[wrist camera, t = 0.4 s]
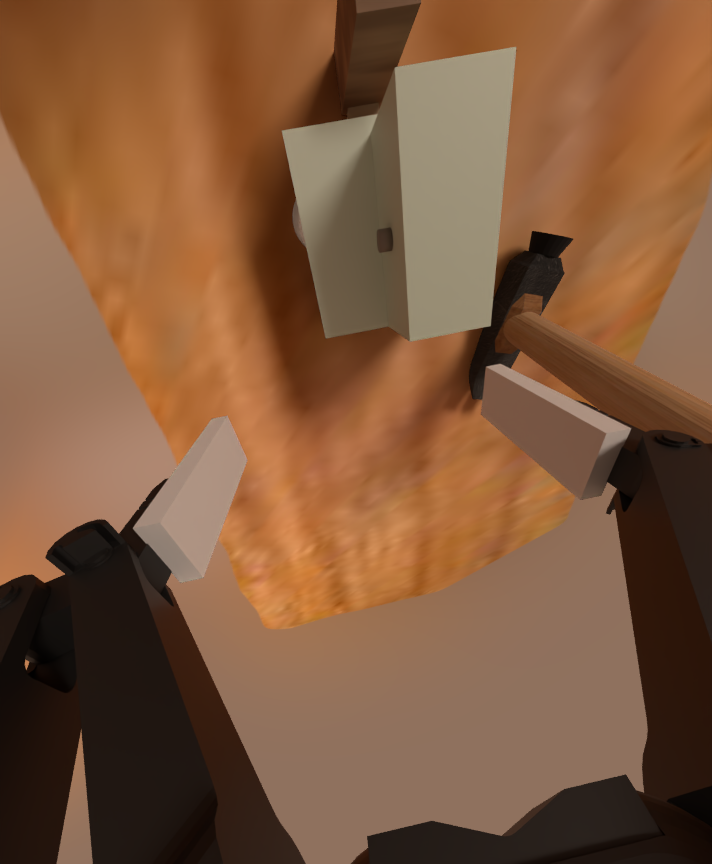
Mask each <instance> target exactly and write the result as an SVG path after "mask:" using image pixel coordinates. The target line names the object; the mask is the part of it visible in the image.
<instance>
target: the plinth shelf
mask: <svg viewBox="0 0 712 864" xmlns="http://www.w3.org/2000/svg"><path fill="white" fill-rule="evenodd" d="M515 56H516V47H512V48H506V49H501V50H495V51H489V52H483V53H477V54H471V55H465V56H459V57H453V58H447V59H441V60H435V61H430V62H424V63H418V64H412V65H406V66H400V67H395V68H394V71H393V74H392V76H391V79H390V82H389V84H388V87H387V90H386V93H385V95H384V98H383V101H382V104H381V106H380V109H379V112H378V114H375V115H369V116H364V117H358V118H352V119H346V120H340V121H335V122H329V123H323V124H317V125H312V126H306V127H300V128H294V129H288V130H283V131H282V134H283V139H284V143H285V148H286V153H287V158H288V162H289V167H290V172H291V177H292V181H293V186H294V191H295V196H296V200H297V205H298V210H299V215H300V219H301V224H302V229H303V233H304V238H305V243H306V248H307V252H308V257H309V262H310V267H311V271H312V276H313V281H314V286H315V290H316V295H317V300H318V305H319V309H320V314H321V319H322V324H323V328H324V333H325V338H326V339H327V338H332V337H337V336H342V335H347V334H353V333H358V332H363V331H368V330H373V329H379V328H384V327H390V328H391V329H393V330H394V331H395V332H397V333H398V334H400V335H401V336H403V337H404V338H405V339H407V340H408V341H410V342H411V341H416V340H421V339H426V338H431V337H437V336H442V335H447V334H452V333H457V332H462V331H467V330H473V329H478V328H483V327H488V326H491V317H492V306H493V295H494V284H495V273H496V262H497V251H498V241H499V230H500V219H501V208H502V197H503V186H504V175H505V164H506V154H507V143H508V132H509V121H510V110H511V99H512V88H513V77H514V67H515Z"/></svg>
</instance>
